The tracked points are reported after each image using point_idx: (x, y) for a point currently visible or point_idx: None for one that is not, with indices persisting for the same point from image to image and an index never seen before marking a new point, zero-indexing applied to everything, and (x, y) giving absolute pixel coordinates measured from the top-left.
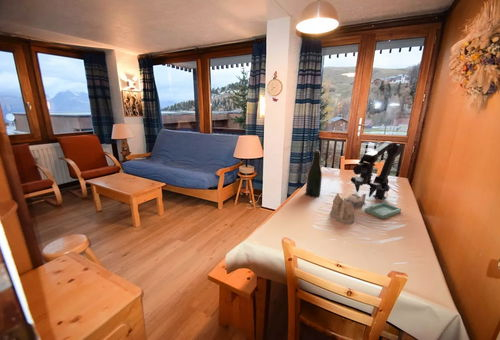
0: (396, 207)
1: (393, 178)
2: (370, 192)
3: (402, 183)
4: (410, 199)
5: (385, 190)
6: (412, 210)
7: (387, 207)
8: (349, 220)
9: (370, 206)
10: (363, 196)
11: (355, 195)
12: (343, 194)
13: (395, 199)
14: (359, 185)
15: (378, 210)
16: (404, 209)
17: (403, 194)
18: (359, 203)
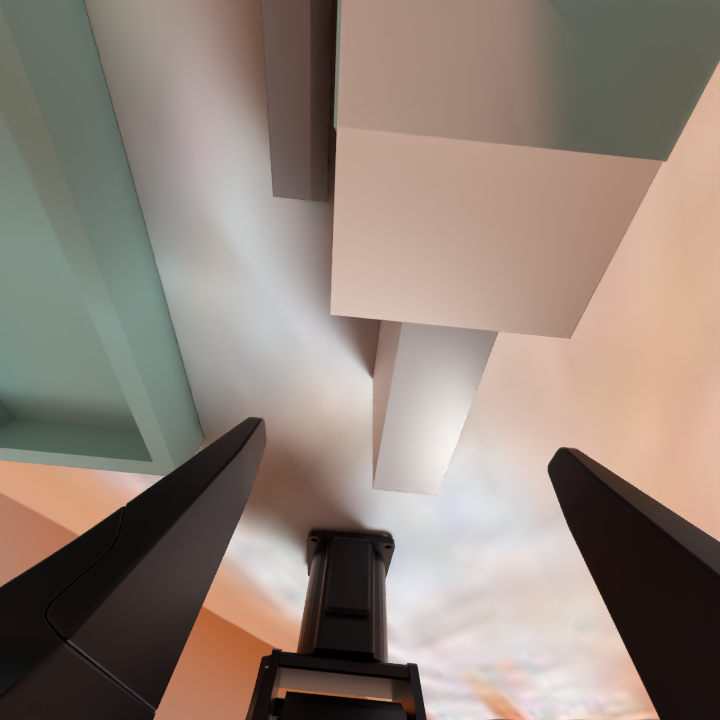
0: (4, 451)
1: (440, 715)
2: (124, 526)
3: (383, 700)
4: (226, 616)
5: (265, 672)
6: (62, 515)
7: (122, 421)
8: None
9: (37, 117)
10: (380, 395)
11: (535, 55)
12: (712, 367)
13: (262, 580)
14: (679, 712)
15: (38, 232)
16: (86, 494)
17: (294, 639)
18: (271, 20)
